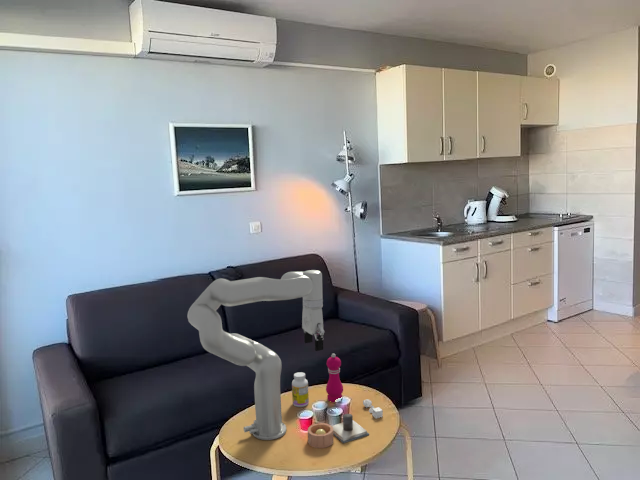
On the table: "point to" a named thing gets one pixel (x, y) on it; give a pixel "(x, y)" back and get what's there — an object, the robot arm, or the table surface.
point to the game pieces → (373, 409)
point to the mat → (350, 439)
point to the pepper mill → (334, 379)
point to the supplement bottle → (300, 390)
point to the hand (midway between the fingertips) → (313, 346)
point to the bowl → (320, 435)
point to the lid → (348, 428)
